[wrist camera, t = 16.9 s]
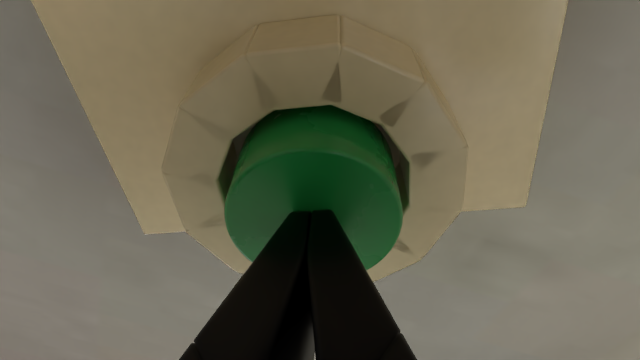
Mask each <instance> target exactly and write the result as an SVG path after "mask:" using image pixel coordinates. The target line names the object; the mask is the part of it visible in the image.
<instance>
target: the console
mask: <svg viewBox="0 0 640 360" xmlns="http://www.w3.org/2000/svg"><path fill="white" fill-rule="evenodd" d="M31 1H32V4H33V6H34V8H35V10H36V12H37V14H38V16H39V18H40V20H41V22H42V24H43V26H44V28H45V30H46V32H47V34H48V37H49V39H50V41H51V43H52V45H53V47H54V49H55V51H56V53H57V55H58V57H59V59H60V61H61V63H62V65H63V67H64V69H65V72H66V74H67V76H68V78H69V80H70V82H71V84H72V86H73V88H74V90H75V92H76V94H77V96H78V98H79V100H80V102H81V105H82V107H83V109H84V111H85V113H86V115H87V117H88V119H89V121H90V123H91V125H92V127H93V129H94V131H95V133H96V135H97V137H98V140H99V142H100V144H101V146H102V148H103V150H104V152H105V154H106V156H107V158H108V160H109V162H110V164H111V166H112V168H113V170H114V172H115V175H116V177H117V179H118V181H119V183H120V185H121V187H122V189H123V191H124V193H125V195H126V197H127V199H128V201H129V203H130V205H131V208H132V210H133V212H134V214H135V216H136V218H137V220H138V222H139V224H140V226H141V228H142V230H143V232H144V234H160V233H173V232H186V233H187V234H189V235H190V236H191V237H192V238H194V239H195V240H196V241H197V242H199V243H200V244H201V245H202V246H204V247H205V248H206V249H207V250H209V251H210V252H211V253H212V254H214V255H215V256H216V257H217V258H218V259H220V260H221V261H222V262H223V263H225V264H226V265H227V266H228V267H230V268H231V269H232V270H233V271H237V272H239V273H242V274H244V273H245V272H246V270H247V269H248V268H249V266H250V265H251V264H252V262H251V261H249V260H248V259H247V258H246V257H245V256H244V255H243V254H242V253H241V252H240V251H239V250H238V248H237V247H236V246H235V244H234V243H233V241H232V239H231V238H230V235H229V233H228V230H227V227H226V223H225V218H224V206H225V200H226V196H227V193H228V190H229V187H230V183H231V180H232V177H233V174H234V171H235V167H236V164H237V161H238V158H239V155H240V151H241V148H242V145H243V143H244V141H245V139H246V136H247V135H248V134H249V132H250V131H251V129H252V128H253V127H254V126H255V125H256V124H257V123H258V122H259V121H260V120H261V119H263V118H264V117H265V116H266V115H268V114H270V113H271V112H273V111H275V110H283V109H293V108H304V107H314V106H325V105H333V106H335V107H338V108H340V109H343V110H345V111H347V112H350V113H352V114H355V115H357V116H360V117H362V118H365V119H367V120H370V121H371V122H372V123H374V124H375V125H376V126H377V128H378V129H379V130H380V131H381V132H382V134H383V135H384V137H385V138H386V140H387V142H388V144H389V147H390V149H391V153H392V157H393V162H394V167H395V172H396V177H397V182H398V187H399V192H400V197H401V203H402V209H403V223H402V228H401V232H400V234H399V237H398V239H397V241H396V243H395V245H394V246H393V248H392V249H391V251H390V252H389V253H388V254H387V255H386V256H385V257H384V258H383V259H382V260H381V261H380V262H379V263H377V264H376V265H374V266H373V267H372V268H370V269H368V270H366V271H367V273H368V274H369V276H370V278H371V280H372V281H373V282H374V281H377V280H379V279H381V278H383V277H385V276H388V275H390V274H392V273H394V272H396V271H399V270H401V269H403V268H405V267H408V266H410V265H412V264H414V263H416V262H419V261H420V260H421V258H423V257H424V256H425V255H426V254H427V252H428V251H429V250H430V249H431V248H432V246H433V245H434V244H435V243H436V242H437V240H438V239H439V238H440V237H441V235H442V234H443V233H444V232H445V231H446V229H447V228H448V227H449V226H450V225H451V223H452V222H453V221H454V220H455V219H456V217H457V216H458V215H459V214H460V212H463V211H477V210H490V209H504V208H518V207H525V206H526V204H527V199H528V194H529V189H530V184H531V179H532V175H533V170H534V165H535V160H536V155H537V150H538V146H539V141H540V136H541V131H542V126H543V121H544V117H545V112H546V107H547V102H548V97H549V92H550V88H551V83H552V78H553V73H554V68H555V63H556V59H557V54H558V49H559V44H560V39H561V34H562V29H563V25H564V20H565V15H566V10H567V5H568V0H31Z"/></svg>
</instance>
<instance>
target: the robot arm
mask: <svg viewBox="0 0 640 360" xmlns="http://www.w3.org/2000/svg"><path fill="white" fill-rule="evenodd" d="M194 342H195V344H194V343H192V344H190V346H189V347H188V348H187V350H186V351H185V352H184V354H183V355H182V356H181V358H180V359H179V360H314V353H315V354H316V360H417V359H416V357H415V355H414V354H413V352H412V350H411V349H410V347H409V345H408V343H407V341H406V340H405V338H404V336H403V334H401V333H400V329H399V328H398V326H397V324H396V322H395V321H394V319H393V317H392V315H391V313H390V312H389V310H388V308H387V306H386V305H385V303H384V301H383V299H382V297H381V296H380V294H379V292H378V290H377V289H376V287H375V285H374V283H373V281H372V280H371V278H370V276H369V274H368V273H367V271H366V269H365V267H364V265H363V264H362V262H361V260H360V258H359V256H358V255H357V253H356V251H355V249H354V248H353V246H352V244H351V242H350V240H349V239H348V237H347V235H346V233H345V232H344V230H343V228H342V226H341V224H340V223H339V221H338V219H337V217H336V216H335V214H334V212H333V211H332V210H330V209H326V210H314V211H313V212H312V213H310V212H309V211H299V212H291V213H290V214H289V215H288V216H287V217H286V219H285V220H284V221H283V223H282V224H281V225H280V227H279V228H278V229H277V231H276V232H275V233H274V235H273V236H272V237H271V239H270V240H269V241H268V243H267V244H266V245H265V247H264V248H263V249H262V251H261V252H260V253H259V254H258V256H257V257H256V258H255V260H254V261H253V262H252V264H251V265H250V266H249V268H248V269H247V270H246V272H245V273H244V274H243V276H242V277H241V278H240V280H239V281H238V282H237V284H236V285H235V286H234V288H233V289H232V290H231V292H230V293H229V294H228V296H227V297H226V298H225V300H224V301H223V302H222V304H221V305H220V306H219V308H218V309H217V310H216V312H215V313H214V314H213V316H212V317H211V318H210V320H209V321H208V322H207V324H206V325H205V326H204V328H203V329H202V330H201V331H200V333H199V334H198V335H197V337H196V338H195V340H194Z"/></svg>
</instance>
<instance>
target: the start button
mask: <svg viewBox="0 0 640 360" xmlns="http://www.w3.org/2000/svg"><path fill="white" fill-rule="evenodd" d="M326 209H330V210H332V211H333V212H334V214H335V216H336V217H337V219H338V221H339V223H340V224H341V226H342V228H343V230H344V232H345V233H346V235H347V237H348V239H349V240H350V242H351V244H352V246H353V248H354V249H355V251H356V253H357V255H358V256H359V258H360V260H361V262H362V264H363V265H364V267H365V269H366V270H368V269H370V268H372V267H373V266H374V265H376V264H377V263H379V262H380V261H381V260H382V259H383V258H384V257H385V256H386V255H387V254H388V253H389V252H390V251H391V249H392V248H393V246H394V245H395V243H396V241H397V239H398V237H399V234H400V232H401V228H402V223H403V209H402V203H401V197H400V192H399V187H398V182H397V177H396V172H395V167H394V162H393V157H392V153H391V149H390V147H389V144H388V142H387V140H386V138H385V137H384V135H383V134H382V132H381V131H380V130H379V129H378V128H377V126H376V125H375V124H374V123H372V122H371V121H370V120H367V119H365V118H362V117H360V116H357V115H355V114H352V113H350V112H347V111H345V110H343V109H340V108H338V107H335V106H333V105H325V106H314V107H304V108H293V109H283V110H275V111H273V112H271V113H270V114H268V115H266V116H265V117H264V118H263V119H261V120H260V121H259V122H258V123H257V124H256V125H255V126H254V127H253V128H252V129H251V131H250V132H249V134H248V135H247V136H246V139H245V141H244V143H243V145H242V148H241V151H240V155H239V158H238V161H237V164H236V167H235V171H234V174H233V177H232V180H231V183H230V187H229V190H228V193H227V196H226V200H225V206H224V218H225V223H226V227H227V230H228V233H229V235H230V238H231V239H232V241H233V243H234V244H235V246H236V247H237V248H238V250H239V251H240V252H241V253H242V254H243V255H244V256H245V257H246V258H247V259H248V260H249V261H251V262H253V261H254V260H255V258H256V257H257V256H258V254H259V253H260V252H261V251H262V249H263V248H264V247H265V245H266V244H267V243H268V241H269V240H270V239H271V237H272V236H273V235H274V233H275V232H276V231H277V229H278V228H279V227H280V225H281V224H282V223H283V221H284V220H285V219H286V217H287V216H288V215H289V214H290V213H291V212H299V211H309V212H310V213H312V212H313V211H314V210H326Z"/></svg>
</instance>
